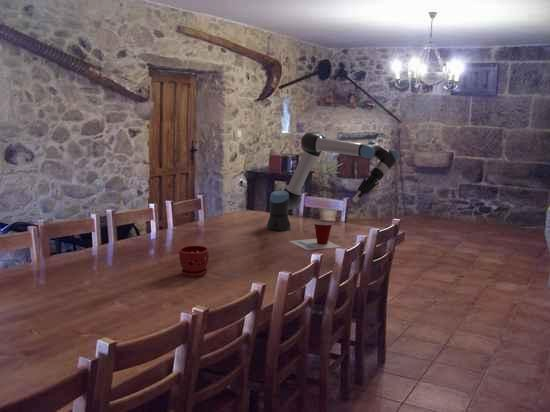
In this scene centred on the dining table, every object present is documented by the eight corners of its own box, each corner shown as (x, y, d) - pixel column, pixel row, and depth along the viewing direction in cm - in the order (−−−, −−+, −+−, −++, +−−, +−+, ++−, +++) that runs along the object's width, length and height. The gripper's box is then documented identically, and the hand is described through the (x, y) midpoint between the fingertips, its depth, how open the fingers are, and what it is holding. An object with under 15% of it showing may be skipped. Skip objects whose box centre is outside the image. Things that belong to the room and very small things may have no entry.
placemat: (288, 241, 329) (288, 240, 329) (321, 238, 339) (321, 238, 339) (307, 250, 310) (307, 249, 310) (341, 246, 319) (341, 246, 319)
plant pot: (183, 269, 266) (183, 244, 264) (211, 271, 265) (211, 245, 263) (175, 277, 253) (175, 251, 251) (205, 279, 252) (205, 252, 250)
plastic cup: (331, 241, 331) (332, 221, 329) (331, 245, 321) (332, 224, 319) (313, 240, 332) (313, 220, 330) (312, 244, 322) (313, 223, 320)
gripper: (389, 177, 331) (364, 207, 327) (376, 174, 343) (351, 203, 339) (382, 168, 328) (356, 198, 324) (369, 165, 340) (344, 194, 335)
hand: (354, 200), depth 331 cm, fingers closed
